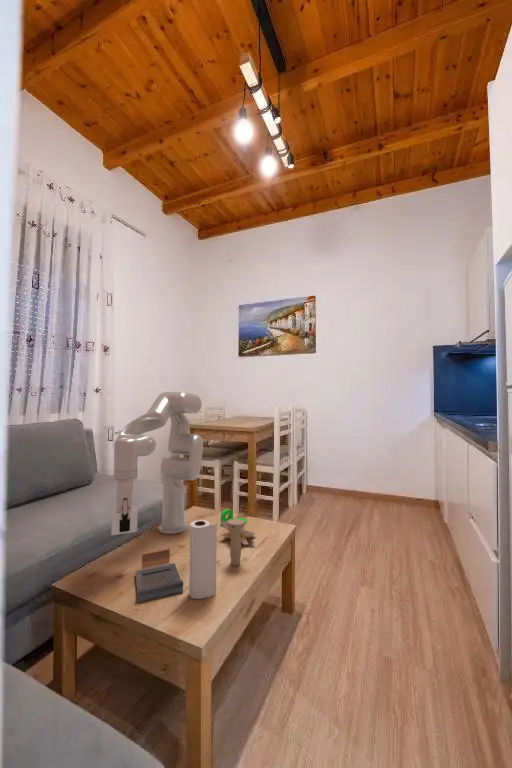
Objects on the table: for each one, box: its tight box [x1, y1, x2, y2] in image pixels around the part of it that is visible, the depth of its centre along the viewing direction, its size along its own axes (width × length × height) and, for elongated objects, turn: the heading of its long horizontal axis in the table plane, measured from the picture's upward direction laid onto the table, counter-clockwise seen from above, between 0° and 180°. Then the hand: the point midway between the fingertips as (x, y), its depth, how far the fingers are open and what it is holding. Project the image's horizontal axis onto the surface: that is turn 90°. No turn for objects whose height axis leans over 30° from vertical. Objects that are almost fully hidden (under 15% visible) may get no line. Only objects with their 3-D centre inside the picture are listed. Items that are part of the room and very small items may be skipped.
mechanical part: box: [220, 508, 248, 528], centre depth 151 cm, size 12×6×8 cm, turn 130°
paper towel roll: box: [188, 519, 218, 600], centre depth 99 cm, size 7×6×21 cm
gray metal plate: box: [134, 562, 184, 603], centre depth 105 cm, size 16×13×3 cm
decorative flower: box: [220, 520, 256, 545], centre depth 135 cm, size 15×11×10 cm
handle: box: [227, 518, 245, 567], centre depth 117 cm, size 5×6×15 cm
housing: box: [110, 505, 139, 536], centre depth 111 cm, size 5×8×8 cm, turn 112°
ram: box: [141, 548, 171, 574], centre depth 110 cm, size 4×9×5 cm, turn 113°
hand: (124, 527), depth 111 cm, fingers closed on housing, 5 cm apart
